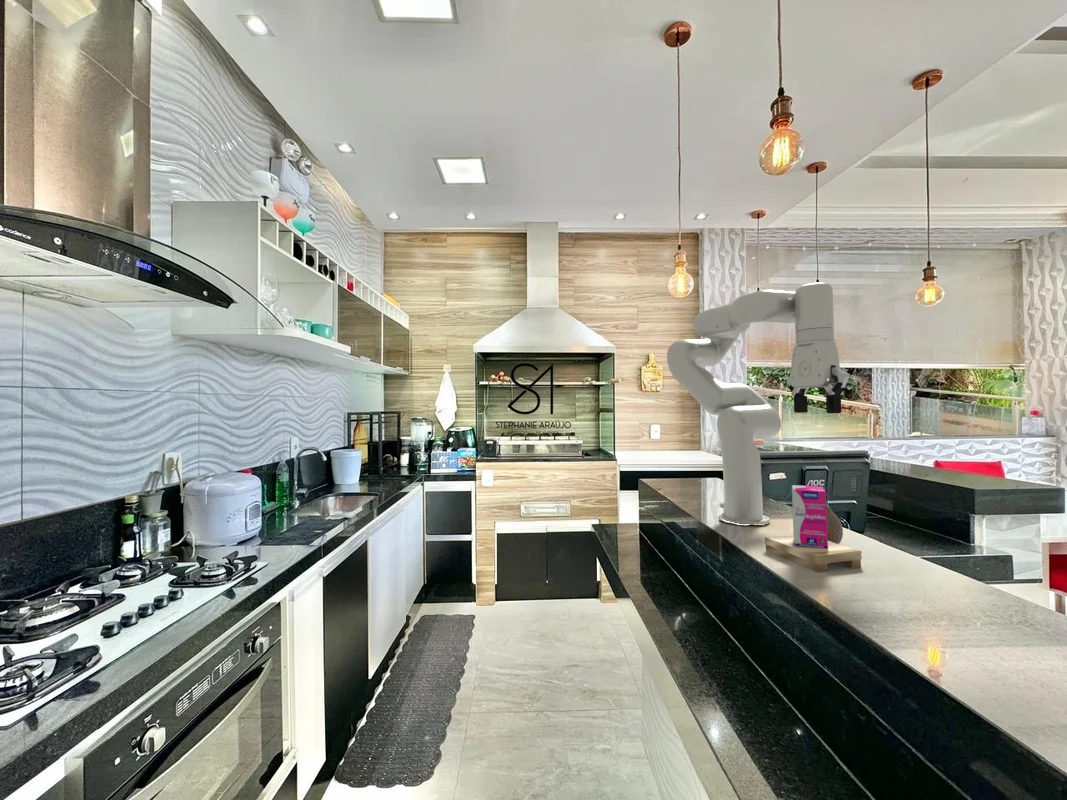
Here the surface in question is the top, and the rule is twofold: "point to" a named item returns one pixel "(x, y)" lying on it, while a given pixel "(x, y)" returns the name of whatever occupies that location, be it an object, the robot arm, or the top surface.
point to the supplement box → (809, 516)
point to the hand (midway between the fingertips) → (816, 412)
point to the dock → (813, 553)
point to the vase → (833, 527)
